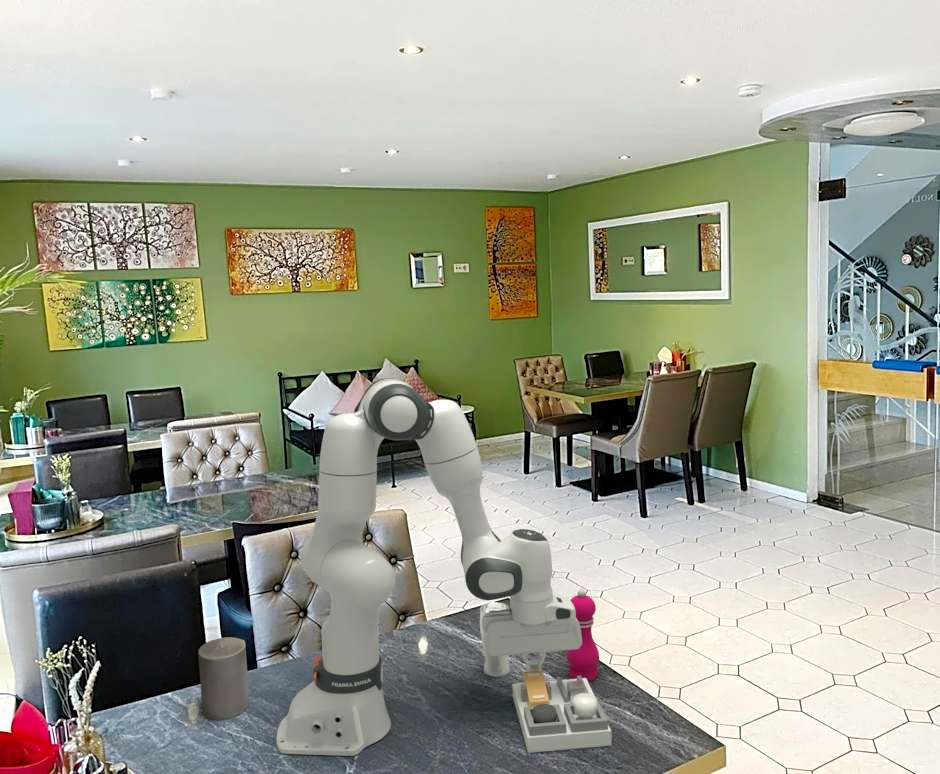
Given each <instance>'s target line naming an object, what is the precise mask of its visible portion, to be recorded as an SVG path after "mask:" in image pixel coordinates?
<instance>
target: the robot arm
mask: <svg viewBox="0 0 940 774" xmlns="http://www.w3.org/2000/svg"><path fill="white" fill-rule="evenodd" d="M353 411H354V412H352V413H351V412H347V413H346V412H344V413H341V414H337V415H335V416H333V417H331V418H330V419H329V420H328V421H327V422H326V424H325V427H324V431H323V435H322V436H323V437H322V441H321V447H320V453H319V467H318V468H319V474H318V476H319V477H318V503H317V513H316V518H315V521H314V527H313V529H312V532H311V535H310V537H309V538H308V539H307V540H306V541H305V542H304V544H303V546H302V548H301V551H300V555H299V557H300V558H299V559H300V566H301V568H302V569H303V570H304V572H305V574H306V576H307V577H308V578H309V579H310V580H311V582H313V584H315V585H317V587H318V586H319V587H320V588H322V589H324V590H325V591H327V593H328V595H329V598H330V609H329V614H328V618H326V620H324V621H323V623H322V626H321V631H320V632H321V650H322V656H320V655H318V656H316V657H315V658H313V659H314V660H313V664H312V667H313V673H312V674H313V681H312V682H311V683H309V684H308V685H306V686H305V687H304V688H303V689H301V690H300V691H298V693H296V695H295V696H294V698H293V699H292V701H291V703H290V705H289V708H288V713H287V715H286V716H284V717H283V718H282V721H281V722H280V723H279V726H278V728H277V732H276V741H275V743H276V748H277V750H278V752H280V753H281V754H284V755H285V754H286V755H311V756H312V755H313V756H339V757H341V756H342V757H343V756H344V757H345V756H346V757H348V756H349V757H350V756H351V757H354V756H356V755H359V754H360V753H361V752H362V751H363V750H364V749H365V748H367V747H369V746H370V745H372V744H375V743H376V742H378V741H380V740H382V739H383V738H384V737H385V736H386V735H387V734H388V733H389V731H390V730H391V726H392V722H391V718H390V716H389V714H388V710H387V706H386V702H385V697H384V690H383V685H384V671H383V670H384V669H383V668H384V667H383V663H382V657H381V655H380V650H379V649H380V648H379V619H380V613H381V611H382V610H381V609H382V606H383V604H384V603H386V602H387V601H388V599H389V598H390V597H391V595H392V594H393V591H394V588H395V586H396V574H395V569H394V568H393V565H391V563H390V562H389V561H388V560H387V559H386V558H385V557H384V556H383V555H382V553H380V552H378V550H375V549H373V548H372V547H369V546H367V545H365V544H364V542H363V533H364V530H365V525H366V523H367V521H368V519H369V518H370V517H371V516H373V514H374V513H375V510H376V508H377V479H378V475H377V474H378V473H377V472H378V465H377V464H378V461H377V459H378V451H379V447H380V445H381V443H382V441H383V440H384V439H387V440H391V441H411V440H414V441H415V442H416V443H417V446H418V447H419V449H420V452H421V456H422V459H423V463H424V466H425V469H426V472H427V473H428V476H429V478H430V479H429V480H431V482H432V484H433V486H434V489H435V490H436V491H437V493H438V494H439V495H440V496H442V497H445V499H447V500H448V502H449V504H450V505H451V507H452V509H453V513H454V515H455V518H456V521H457V525H458V527H459V530H460V534H461V538H462V539H461V540H462V542H461V548H460V562H461V565H462V569H463V572H464V573H463V574H464V579H465V584H466V587H467V588H466V589H468V591H469V593H470V594H472V595H473V596H474V597H476V598H477V599H479V600H483V601H495V600H499V599H504V598H508V597H509V606H510V607H509V609H504V610H498V611H495V610H492V611H489V613H486V614H485V615H484V616H483V618H482V627H483V629H484V631H485V636H484V647H485V652H486V653H487V654H488V655H489V656H502V655H508V656H514V655H520V657H521V660H523V661H524V663H525V666H526V667H525V668H526V672H538V671H542V665H543V664H544V660H545V659H546V658H547V652H549V653H550V652H560V651H561V652H562V651H567V650H574V649H579V648H580V646H581V645H582V635H581V629H580V624H579V622H578V620H577V618H576V611H575V607H574V605H573V603H572V602H571V601H570V600H571V599H570V598H569V597H567V596H563V595H559V594H554V591H553V588H552V585H551V581H552V576H553V563H552V562H553V561H552V552H551V551H552V550H551V546H550V542H549V541H548V539H547V537H546V536H544V535H543V534H542V533H541V532H538V531H536V530H532V529H526V528H525V529H524V528H520V529H514V530H513V531H512V532H511V533H510V534H509V535H507V536H506V538H503V540H501V539H500V538H499V536H497V534H496V533H495V532H494V531H493V530H492V528H491V526H490V523H489V520H488V517H487V514H486V512H485V508H484V505H483V502H482V501H483V500H482V497H481V485H482V483H483V478H484V476H483V467H482V459H481V455H480V451H479V448H478V446H477V441H476V440H475V439H476V438H475V435H474V434H473V431H472V428H471V426H470V424H469V422H468V420H467V417H466V416H465V413H464V412H463V410H462V408H461V407H460V406H459V404H457V402H456V401H454V400H451V399H436V400H432V401H428V400H426V398H424V396H422V395H421V394H420V393H419V391H417V390H416V389H414V388H413V386H412V385H410V384H409V383H407V382H406V381H403V380H401V379H397V378H393V377H392V378H391V377H385V378H380V379H378V380H376V381H374V382H373V383H371V385H369V387H367V389H365V391H364V393H363V394H362V396H361V398H360V399H359V401H358V403H357V404H356V407H354V410H353ZM487 615H489V616H487ZM534 653H538V656H537V658H536V660H529V659H528V658H529V655H530V654H534Z"/></svg>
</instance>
